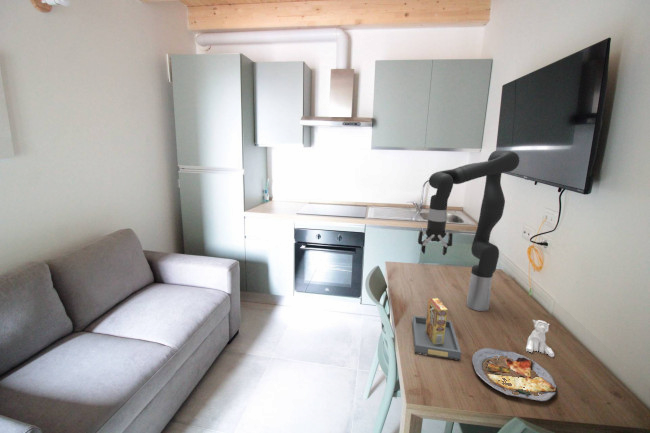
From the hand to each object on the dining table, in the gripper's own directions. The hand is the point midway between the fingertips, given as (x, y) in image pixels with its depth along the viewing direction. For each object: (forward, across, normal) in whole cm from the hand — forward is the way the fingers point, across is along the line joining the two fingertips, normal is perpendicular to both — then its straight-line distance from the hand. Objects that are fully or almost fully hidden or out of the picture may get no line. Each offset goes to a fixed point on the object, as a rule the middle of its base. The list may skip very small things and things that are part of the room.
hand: (433, 253), depth 138 cm
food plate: (+30, -23, +36) cm, 53 cm away
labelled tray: (+29, 0, +22) cm, 36 cm away
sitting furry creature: (+30, -39, +18) cm, 52 cm away
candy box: (+28, 0, +22) cm, 36 cm away
